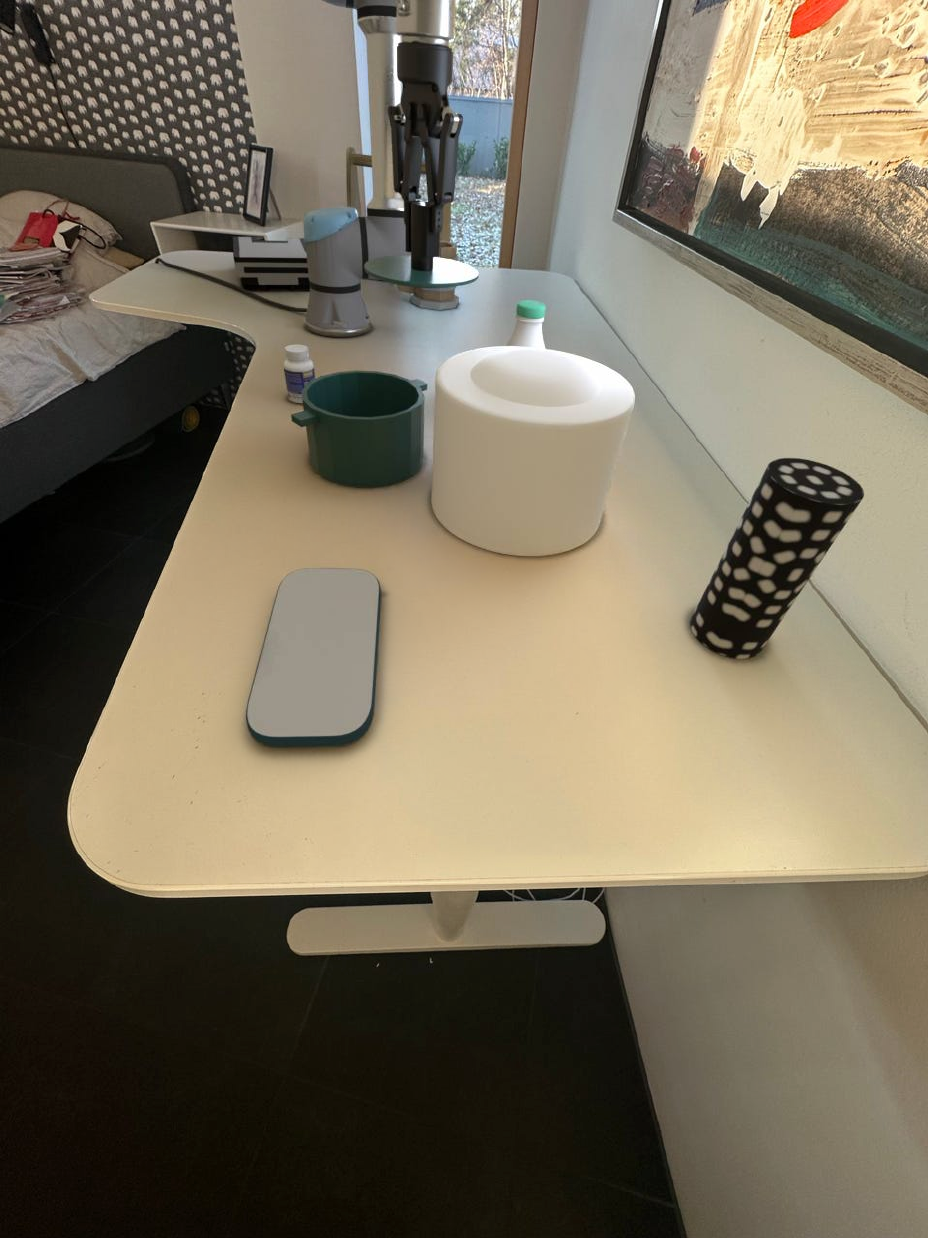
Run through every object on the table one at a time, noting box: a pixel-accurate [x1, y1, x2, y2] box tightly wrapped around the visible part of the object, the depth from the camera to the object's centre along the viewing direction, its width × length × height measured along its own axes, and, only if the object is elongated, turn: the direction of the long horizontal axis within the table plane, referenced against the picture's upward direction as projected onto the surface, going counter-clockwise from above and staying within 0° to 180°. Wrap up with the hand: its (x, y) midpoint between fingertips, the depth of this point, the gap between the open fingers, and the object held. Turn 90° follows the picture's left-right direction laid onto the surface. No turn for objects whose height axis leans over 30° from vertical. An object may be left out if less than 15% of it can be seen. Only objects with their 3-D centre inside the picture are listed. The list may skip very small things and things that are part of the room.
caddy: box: [345, 146, 452, 281], centre depth 160 cm, size 29×11×30 cm, turn 77°
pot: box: [290, 370, 428, 489], centre depth 84 cm, size 18×23×10 cm
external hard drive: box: [245, 567, 382, 748], centre depth 57 cm, size 24×12×2 cm, turn 4°
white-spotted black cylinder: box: [689, 457, 865, 660], centre depth 57 cm, size 8×8×20 cm
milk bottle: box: [505, 299, 547, 349], centre depth 93 cm, size 8×8×20 cm
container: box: [430, 345, 636, 557], centre depth 74 cm, size 25×25×20 cm
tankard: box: [395, 241, 460, 311], centre depth 148 cm, size 20×13×15 cm, turn 80°
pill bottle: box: [283, 343, 316, 405], centre depth 99 cm, size 5×5×9 cm
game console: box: [232, 236, 310, 291], centre depth 158 cm, size 21×32×8 cm, turn 17°
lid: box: [364, 201, 480, 288], centre depth 87 cm, size 19×19×10 cm
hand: (422, 253), depth 88 cm, fingers closed on lid, 4 cm apart
